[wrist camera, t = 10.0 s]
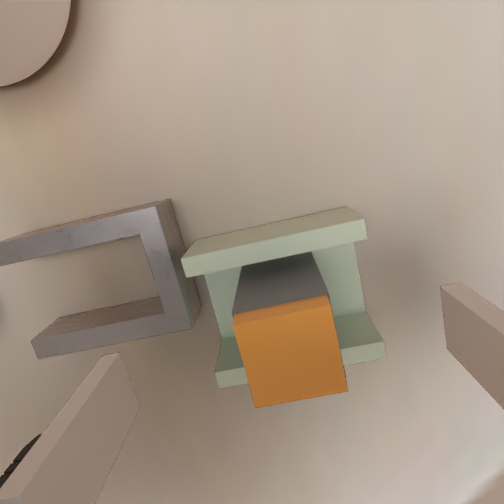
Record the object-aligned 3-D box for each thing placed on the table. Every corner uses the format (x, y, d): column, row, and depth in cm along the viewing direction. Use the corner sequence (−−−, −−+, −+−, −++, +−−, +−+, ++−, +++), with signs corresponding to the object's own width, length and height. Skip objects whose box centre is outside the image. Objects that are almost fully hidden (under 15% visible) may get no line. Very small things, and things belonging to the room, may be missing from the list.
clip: (65, 334, 24) (38, 359, 21) (25, 232, 22) (-11, 245, 19) (201, 306, 23) (192, 328, 20) (170, 198, 21) (155, 206, 19)
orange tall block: (258, 322, 23) (253, 410, 15) (242, 262, 22) (229, 323, 14) (322, 309, 22) (351, 392, 15) (309, 247, 21) (332, 302, 14)
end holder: (226, 350, 24) (218, 388, 20) (195, 240, 22) (180, 258, 18) (366, 323, 23) (386, 358, 19) (346, 206, 21) (364, 218, 17)
